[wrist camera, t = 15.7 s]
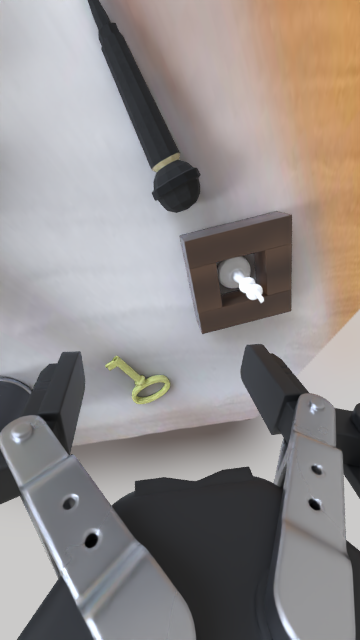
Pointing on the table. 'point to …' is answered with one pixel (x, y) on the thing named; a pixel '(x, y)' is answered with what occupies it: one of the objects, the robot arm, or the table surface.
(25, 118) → the table surface
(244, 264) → the chess piece
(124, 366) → the key
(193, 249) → the holder
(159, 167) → the microphone
